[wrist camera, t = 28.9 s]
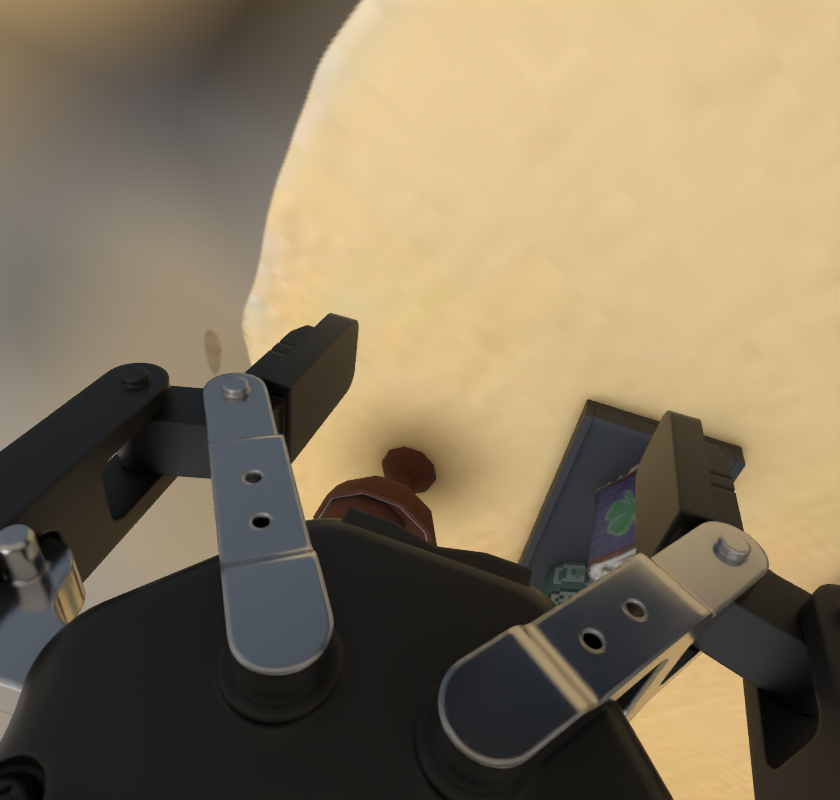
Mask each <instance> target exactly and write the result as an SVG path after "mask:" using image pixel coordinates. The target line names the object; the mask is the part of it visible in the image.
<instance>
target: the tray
mask: <svg viewBox="0 0 840 800" xmlns="http://www.w3.org/2000/svg"><path fill="white" fill-rule="evenodd" d="M659 423H660V422H658V421H655V420H651V419H648V418H645V417H642V416H639V415H635V414H632V413H629V412H626V411H623V410H619V409H616V408H613V407H610V406H607V405H603V404H600V403H597V402H594V401H591V400H587V402H586V404H585V407H584V409H583V411H582V414H581V416H580V418H579V421H578V423H577V425H576V428H575V430H574V433H573V435H572V437H571V440H570V442H569V444H568V447H567V449H566V451H565V454H564V456H563V459H562V461H561V463H560V466H559V468H558V470H557V473H556V475H555V477H554V480H553V482H552V484H551V487H550V489H549V492H548V494H547V496H546V499H545V501H544V503H543V506H542V508H541V510H540V513H539V515H538V518H537V520H536V522H535V525H534V527H533V529H532V532H531V534H530V536H529V539H528V541H527V543H526V546H525V548H524V551H523V553H522V555H521V558H520V560H519V562H518V564H519V565H522V566H525V567H528V568H531V569H532V573H531V578H530V584H531V585H532V586H534V587H535V588H537V589H538V590H540V591H541V592H542V593H543V590H544V584H545V578H546V575H548V572H549V570H552V567H556V564H564V562H585V563H586V566H588V558H589V555H588V554H589V550H590V544H591V535H592V531H591V530H592V521H593V517H594V507H595V499H594V498H595V495H596V491H597V489H599V488H601V487H603V486H605V485H607V484H608V482H610V483H611V482H615V481H617V480H618V478H619V477H620V476H623V477H624V476H626V475H628V473H629V472H630V470H631V468H633V467H635V465H638V464H640V461H641V459H642V457H643V455H644V453H645V451H646V449H647V447H648V445H649V443H650V441H651V439H652V437H653V435H654V433H655V431H656V429H657V427H658V425H659ZM704 442H706V443H709V444H713V445H716V446H717V447H718V448H719V449H720V451H721V452H722V453H723V455H724V456H725V458H726V459H727V460H728V462H729V465H730V470H731V475H732V479H731V480H733V482H734V481H735V480H736V478H737V477H738V475H739V474H740V472H741V471H742V469H743V468H744V466H745V461H744V457H743V453H742V449H741V447H738V446H735V445H731V444H728V443H725V442H722V441H719V440H715V439H712V438H709V437H706V436H704Z"/></svg>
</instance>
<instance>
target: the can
mask: <svg viewBox="0 0 840 800" xmlns="http://www.w3.org/2000/svg"><path fill="white" fill-rule="evenodd" d="M587 568H588V566H586V563H585V562H564V564H556V567H552V570H549V572H548V575H546V578H545V584H544V590H543V593H544V594H545V595H546V596H548V597H549V598H550V599H551V600H552V601H553V602H554V603H555V604H556V605H559V604H561V603H562V602H564V601H565V600H567V599H568V598H570V597H571V596H573V595H575V594H576V593H578V592H579V591H581V590H582V589H584V588H585V587H587V586H588V585H590V584H592V583H593V582H595V580H594V579H592V578H591V577H589V576H588V574H587Z"/></svg>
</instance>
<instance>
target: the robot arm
mask: <svg viewBox="0 0 840 800" xmlns="http://www.w3.org/2000/svg"><path fill="white" fill-rule="evenodd" d="M358 329H359V326H358V322H357V320H354V319H350V318H347V317H343V316H340V315H336V314H333V313H329V314H328V315H327V316H326V317H325V318H324V319H322V320H321V321H320V322H319V323H318V324H317V325H316V326H315V327H312V326H309V325H306V326H303V327H301V328H298V329H296V330H293V331H291V332H289V333H288V334H287V335H286V336H285V337H284V338H283V339H282V340H281V341H280V343H277V344H276V345H275V346H274V347H273V348H272V350H271V351H268V352H267V353H266V354H265V355H264V356H263V357H262V358H261V359H260V360H258V361H257V362H256V363H255V364H254V365H253V366H252V367H251V368H250V369H249V370H247V371H246V372H245V373H229V374H223V375H220V376H217V377H215V378H213V379H212V380H210V381H209V382H207V383H206V385H205V386H204V388H191V387H179V386H170V383H169V376H168V373H167V372H166V371H165V370H164V369H163V368H161V367H159V366H157V365H154V364H148V363H131V364H125V365H121V366H118V367H116V368H114V369H111V370H110V371H108V372H107V373H105V374H104V375H103V376H102V377H100V378H99V379H97V380H96V381H95V382H93V383H92V384H91V385H89V386H88V387H87V388H85V389H84V390H83V391H81V392H80V393H79V394H77V395H76V396H74V397H73V398H72V399H70V400H69V401H68V402H67V403H65V404H64V405H62V406H61V407H60V408H58V409H57V410H56V411H54V412H53V413H52V414H50V415H49V416H48V417H46V418H45V419H44V420H42V421H41V422H39V423H38V424H37V425H35V426H34V427H33V428H31V429H30V430H29V431H27V432H26V433H25V434H23V435H22V436H21V437H20V438H18V439H17V440H15V441H14V442H13V443H11V444H10V445H9V446H7V447H6V448H4V449H3V450H2V451H0V711H2V712H5V713H8V714H11V715H13V716H12V718H11V720H10V723H9V725H8V728H7V729H6V731H5V733H4V735H3V737H2V739H1V741H0V800H674V799H673V798H672V796H671V794H670V792H669V791H668V789H667V787H666V785H665V784H664V782H663V780H662V779H661V777H660V775H659V773H658V772H657V770H656V768H655V766H654V765H653V763H652V761H651V759H650V758H649V756H648V754H647V753H646V751H645V749H644V747H643V746H642V744H641V742H640V740H639V739H638V737H637V735H636V733H635V732H634V730H633V728H632V726H631V725H630V723H629V722H630V721H631V720H632V719H633V718H634V716H635V715H636V714H637V713H638V712H639V711H640V710H641V709H642V708H643V707H644V706H645V704H646V703H647V702H648V701H649V700H650V699H651V698H652V697H654V696H655V695H656V694H657V693H658V692H659V691H660V690H661V689H662V688H664V687H665V686H666V685H667V684H668V683H669V682H670V681H671V680H673V679H674V678H675V677H676V676H677V675H678V674H679V673H680V672H682V671H683V670H684V669H685V668H686V667H687V666H688V665H689V664H691V663H692V662H693V661H694V660H695V659H696V658H697V657H698V656H700V655H701V654H702V653H705V654H706V655H708V656H710V657H711V658H713V659H714V660H716V661H717V662H719V663H720V664H722V665H724V666H725V667H727V668H728V669H730V670H731V671H733V672H734V673H736V674H738V675H739V676H741V677H742V678H743V686H744V696H745V706H746V716H747V726H748V736H749V746H750V756H751V765H752V775H753V785H754V795H755V800H840V585H835V584H826V585H822V586H820V587H819V588H817V589H816V590H815V592H814V593H813V594H810V593H808V592H806V591H805V590H803V589H801V588H799V587H797V586H796V585H794V584H792V583H790V582H788V581H787V580H785V579H783V578H781V577H780V576H778V575H776V574H775V573H773V572H772V571H771V570H769V569H768V568H769V561H768V557H767V555H766V553H765V551H764V550H763V548H762V547H761V546H760V545H759V544H758V543H757V542H756V541H755V540H754V539H753V538H752V537H751V536H750V535H748V534H747V533H745V532H744V530H743V525H742V521H741V516H740V511H739V507H738V502H737V498H736V493H734V490H735V488H734V484H733V480H731V479H732V475H731V470H730V465H729V462H728V460H727V459H726V458H725V456H724V455H723V453H722V452H721V451H720V449H719V448H718V447H717V446H716V445H713V444H709V443H706V442H704V436H703V430H702V424H701V421H700V419H697V418H693V417H690V416H686V415H683V414H679V413H676V412H672V411H667V412H666V413H665V414H664V415H663V417H662V419H661V421H660V423H659V425H658V427H657V429H656V431H655V433H654V435H653V437H652V439H651V441H650V443H649V445H648V447H647V449H646V451H645V453H644V455H643V457H642V459H641V461H640V464H639V467H638V471H637V475H636V555H635V556H633V557H632V558H630V559H629V560H627V561H626V562H624V563H623V564H621V565H619V566H618V567H616V568H615V569H613V570H612V571H610V572H609V573H607V574H605V575H604V576H602V577H601V578H599V579H598V580H596V581H595V582H593V583H592V584H590V585H588V586H587V587H585V588H584V589H582V590H581V591H579V592H578V593H576V594H575V595H573V596H571V597H570V598H568V599H567V600H565V601H564V602H562V603H561V604H559V605H556V604H555V603H554V602H553V601H552V600H551V599H550V598H549V597H548V596H546V595H545V594H544V593H542V592H541V591H540V590H538V589H537V588H535V587H534V586H532V585H531V584H530V578H531V573H532V569H531V568H528V567H525V566H522V565H519V564H516V563H513V562H511V561H508V560H505V559H502V558H499V557H496V556H493V555H490V554H487V553H482V552H475V551H467V550H459V549H452V548H444V547H438V546H435V545H432V544H430V543H429V542H427V541H425V540H424V539H422V538H420V537H419V536H417V535H415V534H414V533H412V532H410V531H409V530H407V529H405V528H404V527H402V526H400V525H399V524H397V523H395V522H394V521H391V520H388V519H385V518H383V517H380V516H377V515H374V514H371V513H368V512H365V511H362V510H359V509H356V508H354V507H351V506H350V508H349V509H348V511H347V513H346V515H345V516H344V518H343V519H338V518H322V519H313V520H307V521H305V518H304V514H303V510H302V506H301V502H300V498H299V494H298V490H297V486H296V482H295V478H294V474H293V470H292V466H291V464H292V462H293V461H294V460H295V459H296V457H297V456H298V455H299V453H300V452H301V451H302V450H303V448H304V447H305V446H306V444H307V443H308V442H309V440H310V439H311V438H312V437H313V435H314V434H315V433H316V431H317V430H318V429H319V428H320V426H321V425H322V424H323V422H324V421H325V420H326V419H327V417H328V416H329V415H330V413H331V412H332V411H333V409H334V408H335V407H336V406H337V404H338V403H339V402H340V400H341V399H342V398H343V397H344V395H345V394H346V393H347V391H348V389H349V387H350V385H351V383H352V380H353V376H354V372H355V362H356V351H357V340H358ZM116 452H117V454H116V455H115V456H113V455H114V454H115V453H116ZM112 456H113V458H111V457H112ZM110 458H111V459H110ZM109 459H110V460H109ZM108 460H109V461H108ZM177 476H183V477H197V478H210V479H211V480H212V491H213V500H214V511H215V521H216V532H217V542H218V552H219V555H216V556H214V557H212V558H209V559H207V560H204V561H202V562H199V563H197V564H195V565H192V566H190V567H187V568H185V569H182V570H180V571H178V572H175V573H173V574H170V575H168V576H165V577H163V578H160V579H158V580H156V581H153V582H151V583H148V584H146V585H144V586H141V587H139V588H136V589H134V590H131V591H129V592H127V593H124V594H122V595H119V596H117V597H114V598H112V599H109V600H107V601H104V602H102V603H100V604H98V605H96V606H94V607H92V608H90V609H88V610H87V611H85V612H83V613H82V614H80V615H78V614H79V612H80V611H81V609H82V607H83V604H84V601H85V590H84V586H83V582H84V581H85V580H86V579H87V578H88V577H89V575H90V574H91V573H92V572H93V571H94V570H95V569H96V568H97V566H98V565H99V564H100V563H101V562H102V561H103V560H104V559H105V557H106V556H107V555H108V554H109V553H110V552H111V550H112V549H113V548H114V547H115V546H116V545H117V544H118V543H119V542H120V541H121V539H122V538H123V537H124V536H125V535H126V534H127V533H128V532H129V530H130V529H131V528H132V527H133V526H134V525H135V524H136V523H137V521H138V520H139V519H140V518H141V517H142V516H143V515H144V514H145V513H146V511H147V510H148V509H149V508H150V507H151V506H152V505H153V504H154V502H155V501H156V500H157V499H158V498H159V497H160V495H162V493H163V492H164V491H165V490H166V489H167V488H168V487H169V485H170V484H171V483H172V482H173V481H174V480H175V479H176V478H177ZM77 615H78V616H77Z"/></svg>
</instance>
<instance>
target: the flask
mask: <svg viewBox="0 0 840 800" xmlns="http://www.w3.org/2000/svg"><path fill="white" fill-rule="evenodd" d="M638 467H639V464H638V465H635V467H633V468H631V470H630V472H629V473H628V475H626V476H624V477H623V476H620V477H619V478H618V480H617V481H615V482H611V483H610V482H608V484H607V485H605V486H603V487H601V488H599V489H597V491H596V495H595V498H594V499H595V507H594V517H593V521H592V530H591V531H592V535H591V544H590V550H589V554H588V555H589V558H588V568H587V574H588V576H589V577H591V578H592V579H594V580H595V581H596V580H598V579H599V578H601V577H602V576H604V575H605V574H607V573H609V572H610V571H612V570H613V569H615V568H616V567H618V566H619V565H621V564H623V563H624V562H626V561H627V560H629V559H630V558H632V557H633V556H635V555H636V475H637V471H638Z"/></svg>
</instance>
